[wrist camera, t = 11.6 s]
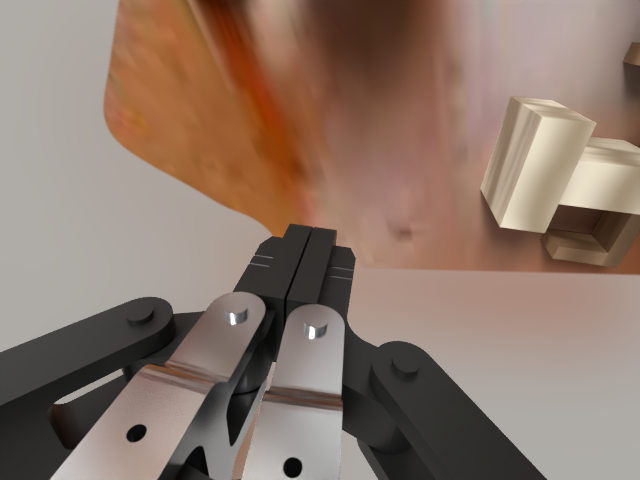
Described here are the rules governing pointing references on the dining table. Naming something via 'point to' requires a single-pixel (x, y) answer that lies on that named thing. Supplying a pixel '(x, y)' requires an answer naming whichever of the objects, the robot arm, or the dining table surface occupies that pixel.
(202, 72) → the dining table surface
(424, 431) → the robot arm
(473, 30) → the dining table surface
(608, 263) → the walnut fence
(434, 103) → the dining table surface
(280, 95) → the dining table surface
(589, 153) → the t block
